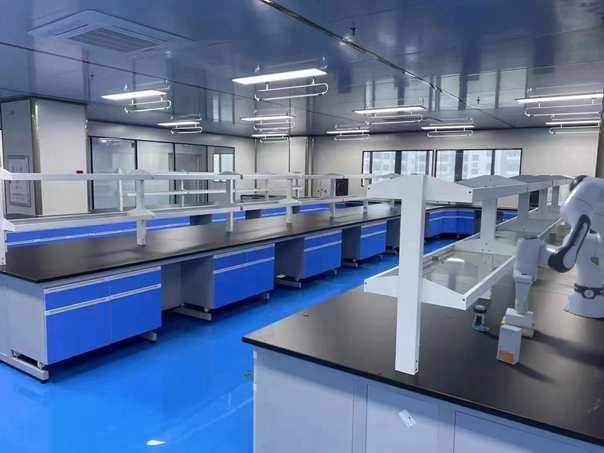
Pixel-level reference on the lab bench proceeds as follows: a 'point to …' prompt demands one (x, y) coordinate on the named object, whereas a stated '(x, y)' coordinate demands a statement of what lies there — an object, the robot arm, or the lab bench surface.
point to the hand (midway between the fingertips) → (521, 307)
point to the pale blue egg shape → (523, 308)
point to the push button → (479, 318)
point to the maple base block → (525, 330)
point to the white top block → (518, 318)
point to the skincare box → (509, 344)
